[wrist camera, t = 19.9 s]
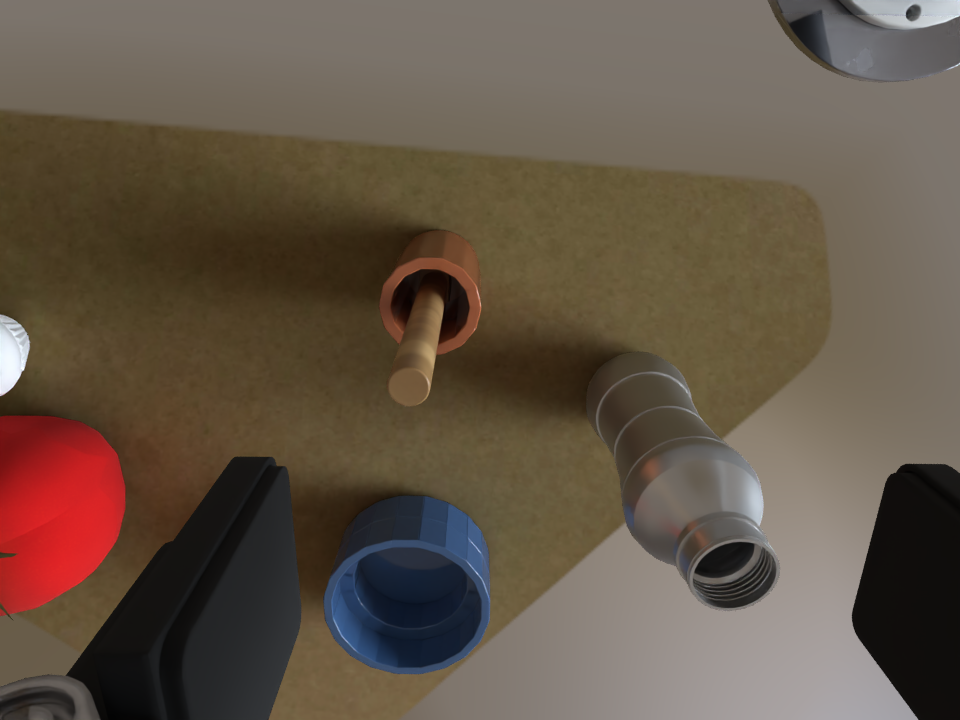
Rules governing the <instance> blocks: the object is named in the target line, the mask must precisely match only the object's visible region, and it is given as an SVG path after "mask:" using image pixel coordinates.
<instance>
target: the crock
mask: <svg viewBox="0 0 960 720" xmlns="http://www.w3.org/2000/svg"><path fill="white" fill-rule="evenodd" d="M420 269H439V270H441V271H443V272H445V273H447V274H449V275H451V294H450V301H449V302H445V305H444V311H443V317H442V323H441V329H440V334H439V340H438V346H437V352H436V355H441V354H444V353H447V352H449V351H451V350H453V349H456V348H458V347H460V346H462V345H463V344H464V343H465V342H466V340H467V339H468V338H469V337H470V336H471V335H472V333H473V332H474V331H475V329H476V328H477V324H478V320H479V316H480V312H481V278H480V268H479V262H478V258H477V255H476V253H475V251H474V250H473V248H472V247H471V245H470V244H469V243H468V242H467V241H466V240H465V239H463V238H462V237H461V236H459V235H457V234H455V233H452V232H450V231H445V230H432V231H427V232H424V233H422V234H420V235H418V236H416V237H415V238H414V239H412V240H411V241H410V242H409V243H408V245H407V246H406V247H405V249H404V250H403V251H402V253H401V254H400V256H399V258H398V260H397V261H396V263H395V265H394V267H393V268H392V270H391V272H390V274H389V276H388V277H387V279H386V281H385V283H384V285H383V288H382V293H381V298H380V303H379V309H380V313H381V317H382V320H383V324H384V327H385V329H386V330H387V331H388V332H389V334H390V335H391V336H392V337H393V338H394V339H395V341H396V342H397V343H398V344H400V342H401V339H402V336H403V334H404V331H405V328H406V325H407V322H408V319H409V316H410V313H411V310H412V307H413V304H414V301H415V298H416V295H417V292H418V289H419V270H420Z"/></svg>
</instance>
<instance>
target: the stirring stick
mask: <svg viewBox="0 0 960 720" xmlns="http://www.w3.org/2000/svg"><path fill="white" fill-rule="evenodd" d="M450 294H451V275H449V274H447V273H445V272H443V271H441V270H439V269H420V270H419V289H418V292H417V295H416V298H415V301H414V304H413V307H412V310H411V313H410V316H409V319H408V322H407V325H406V328H405V331H404V334H403V336H402V339H401V342H400V345H399V348H398V351H397V354H396V357H395V360H394V363H393V366H392V369H391V372H390V375H389V378H388V381H387V390H388V393H389V395H390V397H391V398H392V399H393V400H394V401H395V402H397V403H398V404H400V405H403V406H415V405H418V404H420V403H422V402H423V401H424V400H425V399H426V398H427V397H428V395H429V392H430V387H431V381H432V376H433V370H434V364H435V358H436V352H437V346H438V340H439V334H440V329H441V323H442V317H443V311H444V305H445V302H449V301H450Z"/></svg>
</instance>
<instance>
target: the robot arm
mask: <svg viewBox="0 0 960 720" xmlns="http://www.w3.org/2000/svg"><path fill="white" fill-rule="evenodd" d="M839 1H840V2H841V3H842V4H843V5H844V6H845V7H846V8H847V9H848V10H849V11H850V12H851V13H852V14H854V15H856V16H858V17H859V18H861V19H863V20H864V21H866V22H868V23H870V24H874V25H877V26H880V27H883V28H887V29H901V30H909V29H916V28H923V27H928V26H932V25H936V24H940V23H944V22H947V21H949V20H951V19H954V18H956V17H958V16H960V0H839ZM906 11H907V13H908V16H907V18H906ZM300 622H301V599H300V589H299V578H298V568H297V557H296V547H295V537H294V526H293V516H292V505H291V495H290V485H289V475H288V471H287V468H286V467H285V466H277V465H276V462H275V459H274V458H273V457H234V458H233V459H232V460H231V461H230V463H229V464H228V465H227V467H226V468H225V470H224V471H223V472H222V474H221V475H220V476H219V478H218V479H217V481H216V482H215V483H214V485H213V486H212V488H211V489H210V490H209V492H208V493H207V495H206V496H205V497H204V499H203V500H202V502H201V503H200V504H199V506H198V507H197V508H196V510H195V511H194V513H193V514H192V515H191V517H190V518H189V520H188V521H187V522H186V524H185V525H184V527H183V528H182V529H181V531H180V532H179V533H178V535H177V536H176V538H175V539H174V540H173V541H171V542H168V543H165V544H164V545H163V546H162V547H161V548H160V549H159V550H158V551H157V553H156V554H155V555H154V557H153V558H152V560H151V561H150V562H149V564H148V565H147V566H146V568H145V569H144V570H143V572H142V573H141V574H140V576H139V577H138V579H137V580H136V581H135V583H134V584H133V585H132V587H131V588H130V589H129V591H128V592H127V593H126V595H125V596H124V598H123V599H122V600H121V602H120V603H119V604H118V606H117V607H116V608H115V610H114V611H113V612H112V614H111V615H110V616H109V618H108V619H107V621H106V622H105V623H104V625H103V626H102V627H101V629H100V630H99V631H98V633H97V634H96V635H95V637H94V638H93V640H92V641H91V642H90V644H89V645H88V646H87V648H86V649H85V650H84V652H83V653H82V654H81V656H80V658H78V660H77V661H76V663H75V664H74V665H73V667H72V668H71V669H70V671H69V672H68V673H67V675H66V676H61V675H42V676H36V677H30V678H24V679H21V680H18V681H16V682H13V683H10V684H7V685H4V686H1V687H0V720H268V719H269V716H270V713H271V710H272V707H273V705H274V702H275V699H276V696H277V693H278V690H279V687H280V684H281V681H282V679H283V676H284V673H285V670H286V667H287V664H288V661H289V658H290V655H291V653H292V650H293V647H294V644H295V641H296V638H297V635H298V632H299V628H300ZM852 622H853V627H854V630H855V633H856V635H857V636H858V638H859V639H860V641H861V642H862V643H863V645H864V646H865V648H866V649H867V650H868V652H869V653H870V654H871V656H872V657H873V659H874V660H875V661H876V662H877V664H878V665H879V667H880V668H881V669H882V671H883V672H884V673H885V675H886V676H887V677H888V679H889V680H890V682H891V683H892V684H893V686H894V687H895V688H896V690H897V691H898V692H899V694H900V695H901V696H902V698H903V699H904V701H905V702H906V703H907V705H908V706H909V707H910V709H911V710H912V711H913V713H914V714H915V716H916V717H917V718H918V720H960V473H958V472H957V471H956V470H955V469H953V468H952V467H949V466H948V465H945V464H905V465H902V466H901V467H900V468H899V469H898V470H897V472H896V473H893V474H891V475H890V476H889V477H888V479H887V481H886V483H885V487H884V491H883V495H882V499H881V503H880V507H879V511H878V514H877V518H876V522H875V526H874V530H873V534H872V538H871V542H870V546H869V549H868V553H867V557H866V561H865V564H864V569H863V573H862V576H861V580H860V584H859V588H858V592H857V595H856V599H855V603H854V607H853V612H852Z"/></svg>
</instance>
